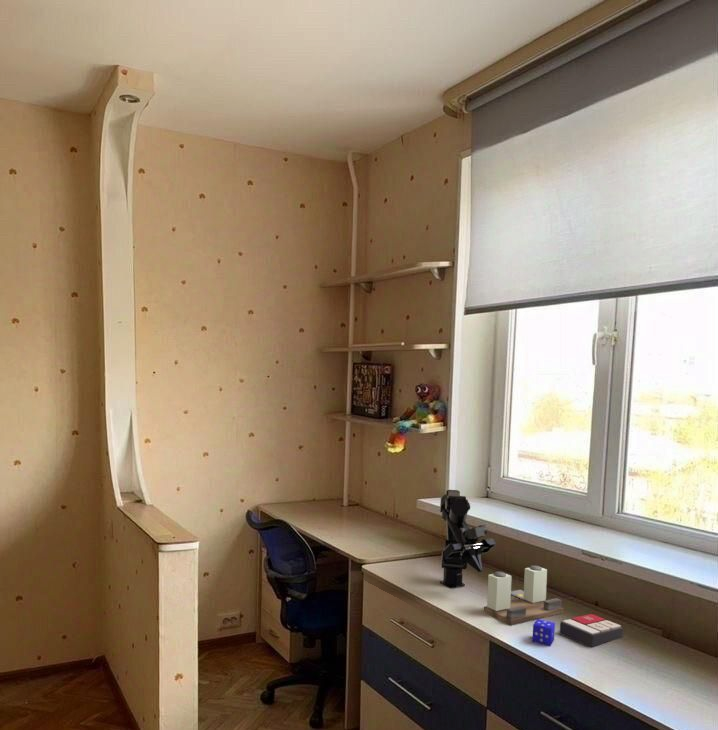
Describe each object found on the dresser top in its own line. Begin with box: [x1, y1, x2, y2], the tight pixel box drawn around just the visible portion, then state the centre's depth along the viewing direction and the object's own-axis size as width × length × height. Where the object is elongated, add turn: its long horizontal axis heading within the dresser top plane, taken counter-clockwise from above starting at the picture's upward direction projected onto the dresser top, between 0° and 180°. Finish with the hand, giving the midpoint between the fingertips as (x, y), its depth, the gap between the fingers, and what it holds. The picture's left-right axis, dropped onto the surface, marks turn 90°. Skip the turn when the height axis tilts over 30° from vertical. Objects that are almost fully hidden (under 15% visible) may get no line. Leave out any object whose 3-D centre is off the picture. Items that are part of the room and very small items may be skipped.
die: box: [531, 619, 556, 647], centre depth 179 cm, size 5×5×5 cm
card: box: [511, 589, 524, 599], centre depth 215 cm, size 8×6×1 cm
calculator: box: [559, 613, 624, 648], centre depth 185 cm, size 11×4×15 cm
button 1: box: [486, 571, 512, 611], centre depth 198 cm, size 4×6×11 cm, turn 121°
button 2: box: [523, 564, 548, 603], centre depth 207 cm, size 4×6×11 cm, turn 122°
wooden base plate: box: [482, 597, 565, 626], centre depth 200 cm, size 12×23×4 cm, turn 121°
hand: (480, 571), depth 206 cm, fingers closed
